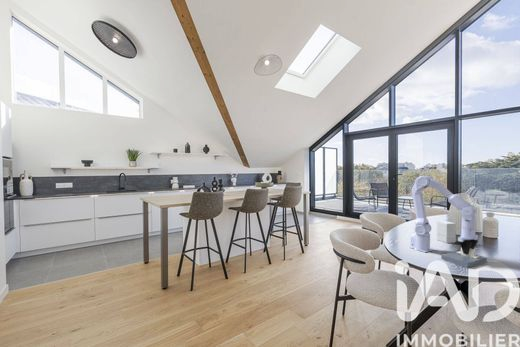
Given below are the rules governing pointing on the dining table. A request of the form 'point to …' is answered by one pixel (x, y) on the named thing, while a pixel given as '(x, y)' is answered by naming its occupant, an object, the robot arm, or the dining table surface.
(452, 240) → the supplement box
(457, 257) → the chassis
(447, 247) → the dining table surface
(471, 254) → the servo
